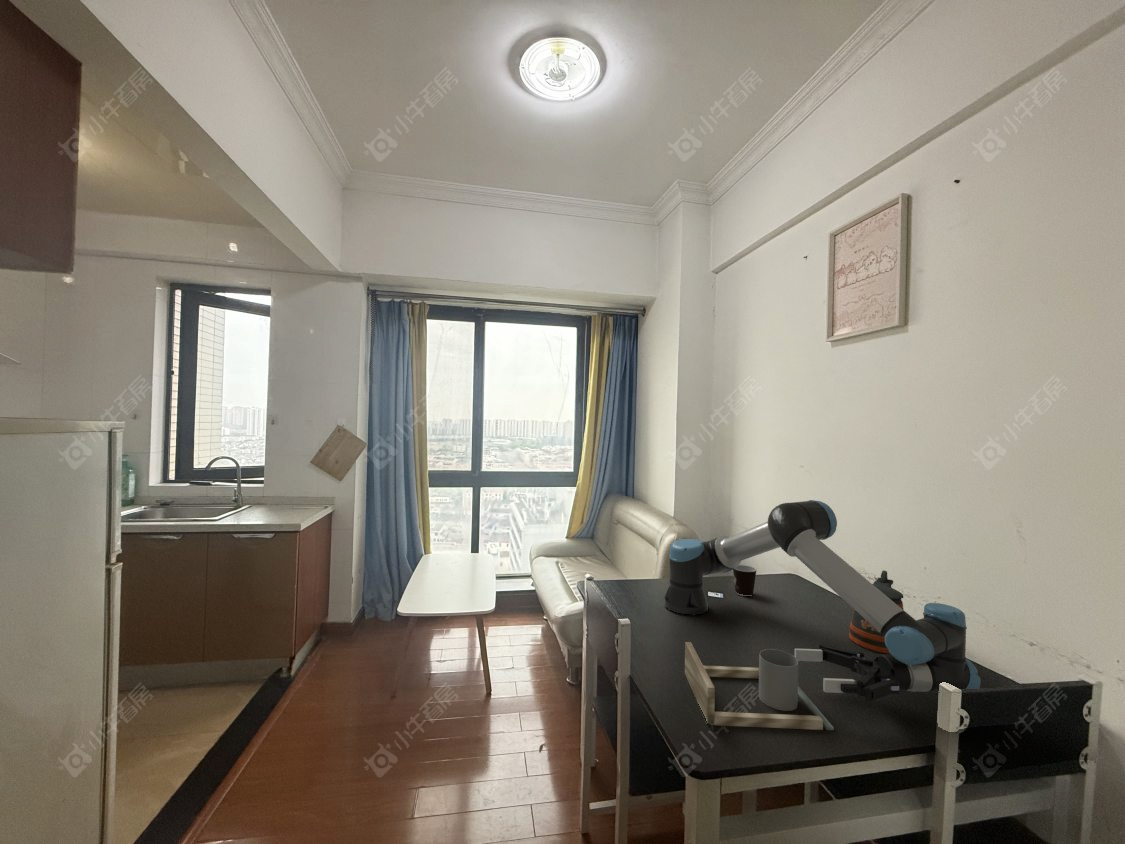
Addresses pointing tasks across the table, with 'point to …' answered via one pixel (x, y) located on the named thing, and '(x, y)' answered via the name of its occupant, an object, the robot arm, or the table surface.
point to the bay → (706, 701)
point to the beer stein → (864, 630)
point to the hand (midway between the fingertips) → (808, 668)
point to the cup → (778, 679)
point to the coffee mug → (744, 579)
